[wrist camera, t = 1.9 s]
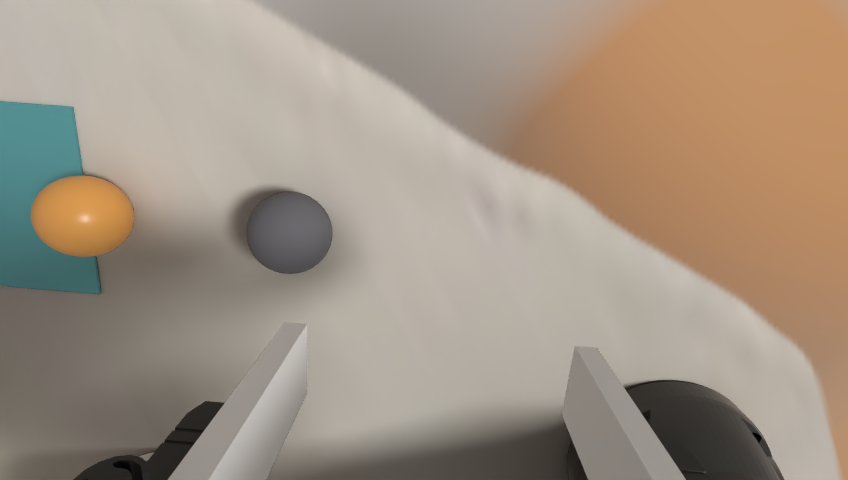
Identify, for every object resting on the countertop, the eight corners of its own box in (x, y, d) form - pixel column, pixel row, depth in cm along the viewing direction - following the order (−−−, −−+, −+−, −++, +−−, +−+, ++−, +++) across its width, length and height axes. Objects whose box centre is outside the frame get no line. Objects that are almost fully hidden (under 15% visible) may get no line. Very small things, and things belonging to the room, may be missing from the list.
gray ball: (340, 188, 31) (320, 204, 26) (339, 261, 32) (320, 289, 27) (264, 182, 31) (228, 196, 26) (267, 255, 32) (233, 282, 27)
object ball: (147, 173, 31) (87, 185, 26) (155, 246, 33) (100, 271, 27) (72, 167, 31) (-3, 178, 26) (83, 240, 33) (15, 264, 27)
